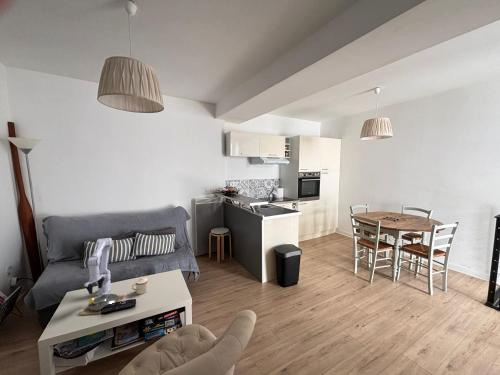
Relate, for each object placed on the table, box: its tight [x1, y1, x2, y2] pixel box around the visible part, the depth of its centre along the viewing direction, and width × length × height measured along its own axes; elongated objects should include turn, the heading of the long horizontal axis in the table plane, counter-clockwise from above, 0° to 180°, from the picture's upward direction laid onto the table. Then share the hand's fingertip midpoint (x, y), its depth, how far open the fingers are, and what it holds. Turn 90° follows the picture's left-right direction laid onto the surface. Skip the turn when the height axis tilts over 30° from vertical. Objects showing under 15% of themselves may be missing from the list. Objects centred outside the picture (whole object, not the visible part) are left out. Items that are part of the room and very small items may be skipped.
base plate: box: [79, 294, 126, 317], centre depth 152 cm, size 20×20×1 cm
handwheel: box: [87, 293, 118, 311], centre depth 152 cm, size 18×18×6 cm
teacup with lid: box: [131, 277, 149, 295], centre depth 169 cm, size 12×9×12 cm
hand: (95, 290), depth 153 cm, fingers open, 7 cm apart
